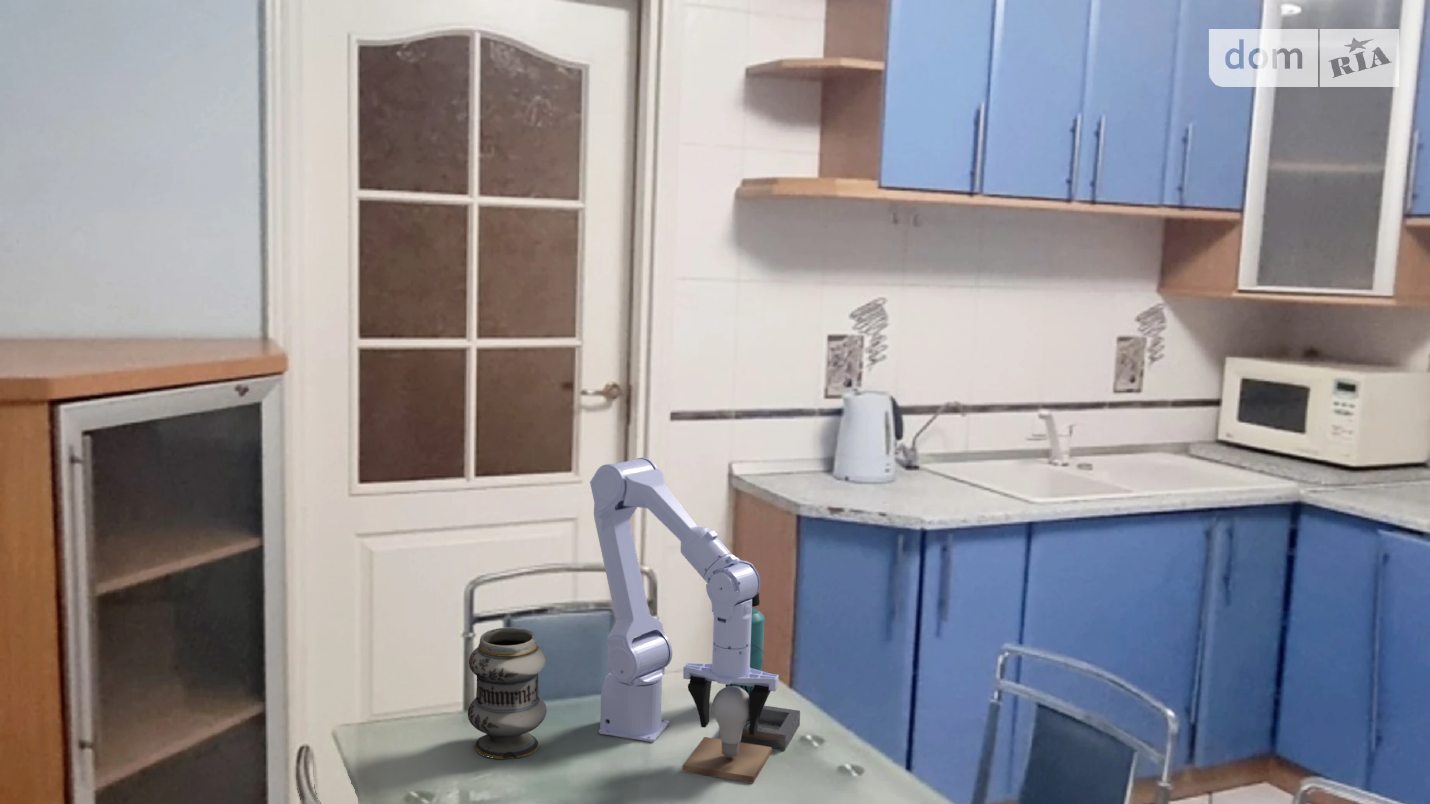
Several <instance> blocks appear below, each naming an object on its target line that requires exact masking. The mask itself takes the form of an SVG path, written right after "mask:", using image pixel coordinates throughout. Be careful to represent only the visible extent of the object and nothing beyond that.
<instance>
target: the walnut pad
mask: <svg viewBox="0 0 1430 804" xmlns="http://www.w3.org/2000/svg"><path fill="white" fill-rule="evenodd" d="M771 754H772V747H767V746H761V745H754V744H748V743H741V742H739V749H738V754H737V755H736V756H733V758H727V757H726V756H725V755H723V754H722V741H721V739H720V738H714V737H707V736H703V738H702V740H701V741H700V742H699V743H698V745H697V746H696V747H695V748H694V750H692V752H691V754H690V755H689V757H688V758H687V759H686V760H685V762H683V764H682V772H683V773H689V774H695V775H701V776H707V777H713V778H719V779H720V778H721V779H725V780H731V781H739V782H743V783H751V784H754V783H755V781H756V780H757V778H758V776H759V775H760V772H762V769H763V768H764V766H765V765H766V763H767V761H768V760H769V758H770V756H771Z"/></svg>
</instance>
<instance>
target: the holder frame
mask: <svg viewBox="0 0 1430 804" xmlns="http://www.w3.org/2000/svg"><path fill="white" fill-rule="evenodd" d="M747 722H749V723H750V717H749V719H748V721H747ZM758 724H763V725H764V724H765V725H771V726H776V727H777V726H778V727H779V729H778V730H777V729H773V728H772V729H771V728H767V727H766V728H765V727H759V726H758V727H757V731H756V733H755V734H754V735H750V734H749V725H747V724H745V726H744V728H743V731H742V735H741V741H740V742H741V743H748V744H754V745H761V746H767V747H772V749H773V750H774V749H775V750H779V751H780V750H781V751H785V750H786V749H787V748H788V746H789V745H790V743H791V741H792V739H793V738H794V735H796V732H797V731H798V729H799V727H800V725H801V710H797V709H790V708H784V707H778V706H777V707H775V706H769V705H764V707H763V709H762V712H761V715H760V718H759V722H758Z"/></svg>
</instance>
